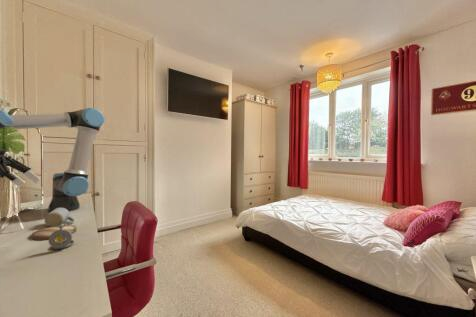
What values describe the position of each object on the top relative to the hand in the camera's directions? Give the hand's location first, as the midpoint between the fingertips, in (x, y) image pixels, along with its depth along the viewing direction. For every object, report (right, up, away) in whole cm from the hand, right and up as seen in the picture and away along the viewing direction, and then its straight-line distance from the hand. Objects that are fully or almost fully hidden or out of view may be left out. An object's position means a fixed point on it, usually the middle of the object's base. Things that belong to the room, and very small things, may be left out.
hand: (30, 182), depth 95 cm
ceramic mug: (+10, -22, +5) cm, 24 cm away
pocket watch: (+32, -22, -19) cm, 43 cm away
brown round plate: (+17, -22, -6) cm, 29 cm away
